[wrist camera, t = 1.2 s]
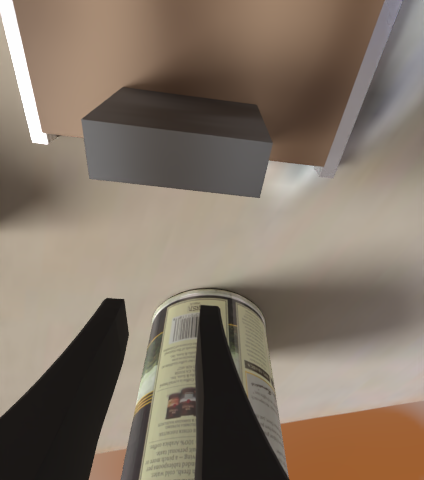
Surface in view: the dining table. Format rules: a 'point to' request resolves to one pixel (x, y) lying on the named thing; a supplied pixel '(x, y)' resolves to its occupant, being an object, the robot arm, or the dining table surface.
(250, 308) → the coffee can
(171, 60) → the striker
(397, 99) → the dining table surface
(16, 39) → the rails
